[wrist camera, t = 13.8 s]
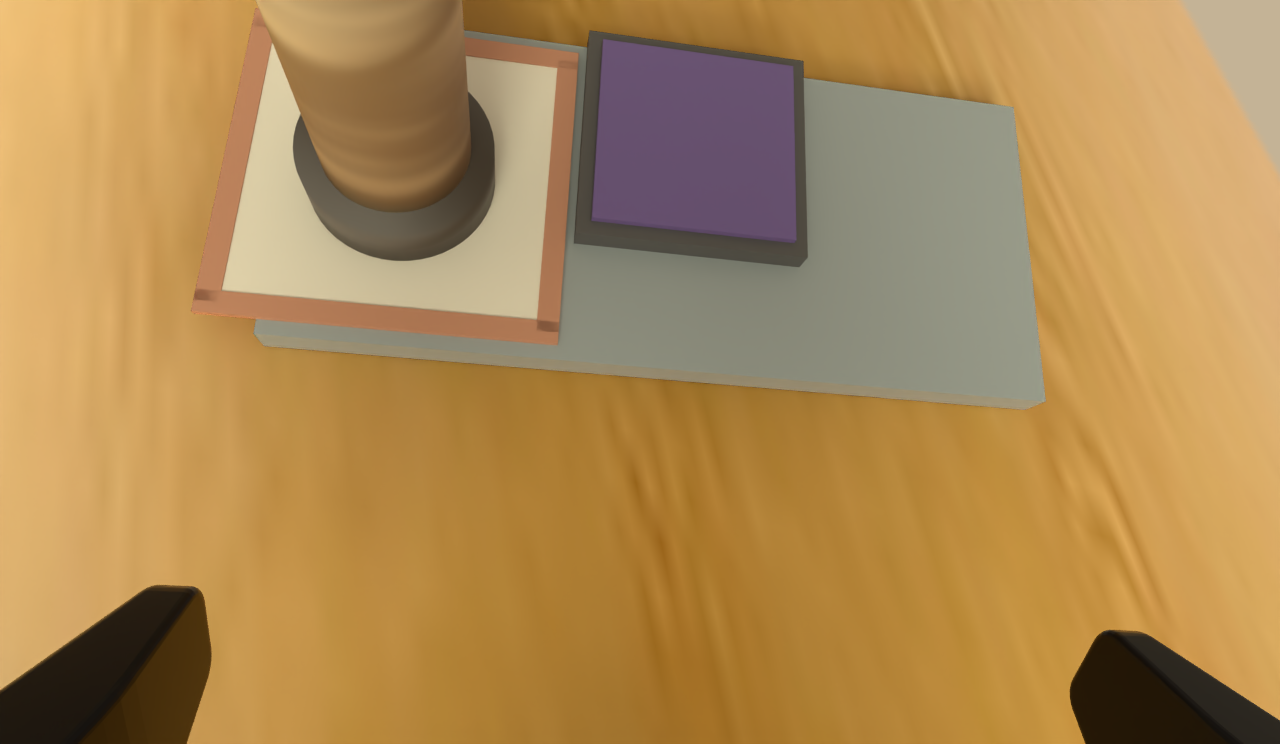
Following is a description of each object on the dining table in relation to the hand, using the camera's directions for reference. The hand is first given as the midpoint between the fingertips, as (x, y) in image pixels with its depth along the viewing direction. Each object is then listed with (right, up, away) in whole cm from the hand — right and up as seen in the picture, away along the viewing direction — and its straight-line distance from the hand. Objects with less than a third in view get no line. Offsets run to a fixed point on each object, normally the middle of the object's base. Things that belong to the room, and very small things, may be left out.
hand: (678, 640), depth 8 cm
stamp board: (+1, +7, +17) cm, 18 cm away
